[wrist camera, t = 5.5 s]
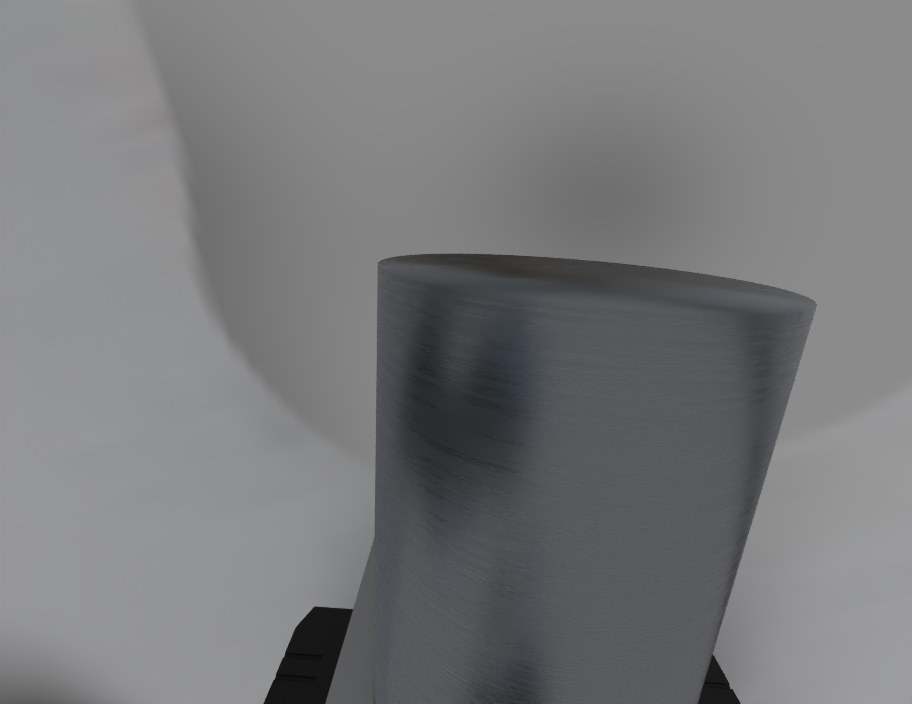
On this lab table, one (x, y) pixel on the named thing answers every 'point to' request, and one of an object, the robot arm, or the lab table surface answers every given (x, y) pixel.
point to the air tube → (566, 473)
